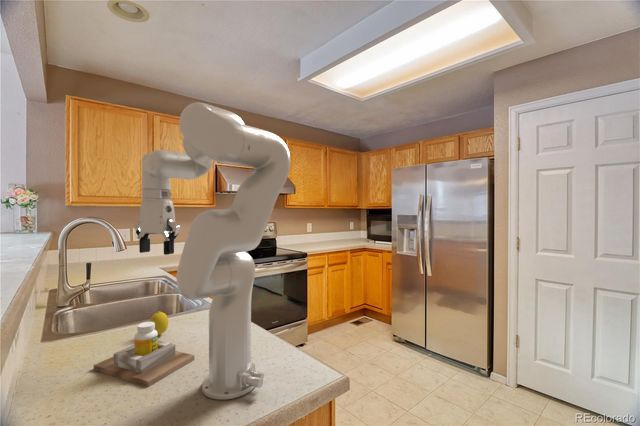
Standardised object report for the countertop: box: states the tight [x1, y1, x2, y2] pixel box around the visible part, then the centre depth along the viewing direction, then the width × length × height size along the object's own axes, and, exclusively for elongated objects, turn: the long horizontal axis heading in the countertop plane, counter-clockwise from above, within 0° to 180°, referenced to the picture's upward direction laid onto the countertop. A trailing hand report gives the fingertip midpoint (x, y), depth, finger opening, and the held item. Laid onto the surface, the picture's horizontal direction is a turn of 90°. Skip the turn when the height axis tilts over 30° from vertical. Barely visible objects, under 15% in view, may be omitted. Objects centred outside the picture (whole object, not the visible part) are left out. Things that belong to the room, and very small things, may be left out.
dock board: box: [93, 339, 195, 387], centre depth 82 cm, size 20×14×4 cm
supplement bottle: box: [134, 321, 159, 356], centre depth 82 cm, size 5×5×10 cm
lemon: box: [149, 311, 169, 337], centre depth 101 cm, size 6×6×8 cm
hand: (156, 253), depth 92 cm, fingers open, 9 cm apart
